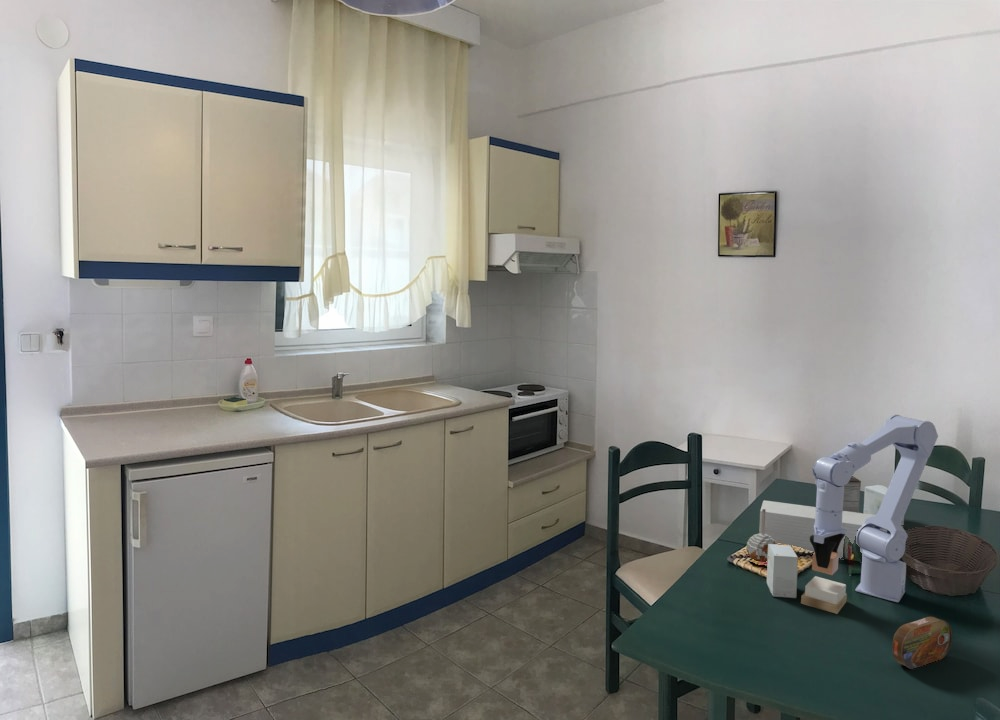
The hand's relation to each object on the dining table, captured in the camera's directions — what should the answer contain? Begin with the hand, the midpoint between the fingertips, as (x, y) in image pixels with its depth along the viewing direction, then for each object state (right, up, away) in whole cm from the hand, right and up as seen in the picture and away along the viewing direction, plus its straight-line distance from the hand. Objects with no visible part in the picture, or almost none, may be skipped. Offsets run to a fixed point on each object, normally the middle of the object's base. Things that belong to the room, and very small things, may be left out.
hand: (825, 563), depth 162 cm
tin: (+7, -13, -24) cm, 28 cm away
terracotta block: (0, -2, 0) cm, 2 cm away
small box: (-8, -9, +7) cm, 14 cm away
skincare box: (+45, -3, +55) cm, 71 cm away
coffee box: (+29, -4, +51) cm, 59 cm away
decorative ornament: (-6, -7, +24) cm, 26 cm away
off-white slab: (0, -8, 0) cm, 8 cm away
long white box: (+14, -6, +33) cm, 37 cm away
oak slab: (0, -10, +1) cm, 10 cm away
